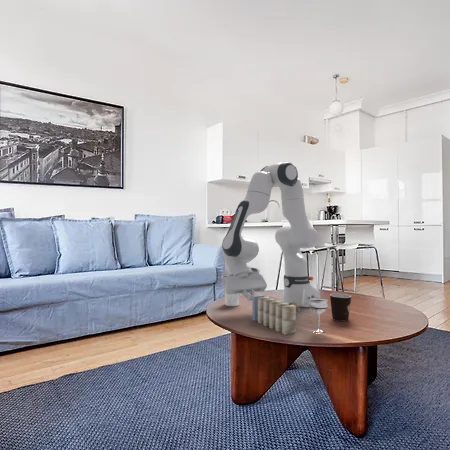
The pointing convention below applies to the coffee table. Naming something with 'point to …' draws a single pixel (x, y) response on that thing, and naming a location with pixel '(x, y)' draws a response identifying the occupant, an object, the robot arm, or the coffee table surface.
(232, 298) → the white cup
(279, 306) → the domino
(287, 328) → the domino
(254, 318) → the domino
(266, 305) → the domino
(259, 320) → the domino
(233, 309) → the coffee table surface
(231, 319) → the coffee table surface
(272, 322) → the domino
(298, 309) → the lion figurine
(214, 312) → the coffee table surface
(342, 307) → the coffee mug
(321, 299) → the wineglass
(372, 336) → the coffee table surface
